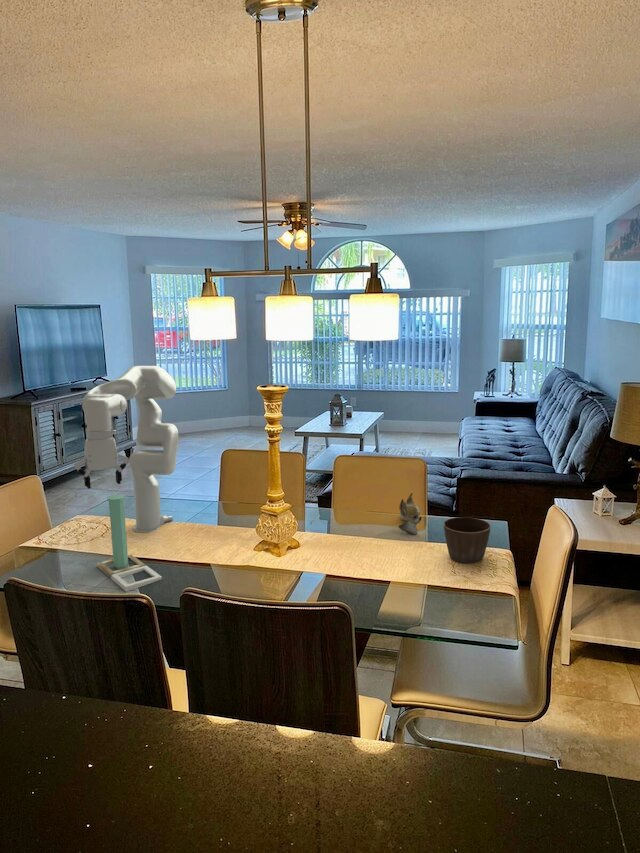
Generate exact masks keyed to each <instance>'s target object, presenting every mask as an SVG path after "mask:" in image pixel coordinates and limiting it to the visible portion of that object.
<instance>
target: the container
mask: <svg viewBox="0 0 640 853" xmlns="http://www.w3.org/2000/svg"><path fill="white" fill-rule="evenodd" d="M125 496H126V495H125V494H120V493H119V494H113V495H112V494H111V495H109V496H107V502H108V506H109V521H110V534H111V544H112V545H111V548H112V559H113V562H114V563H113V566H114V568H115V569H117V570H120V569H124V568H127V567H128V565H129V558H128V555H129V554H128V542H127V541H128V540H127V530H126V529H127V527H126V515H125V514H126V513H125V512H126V511H125V502H124V501H125V500H126V497H125Z"/></svg>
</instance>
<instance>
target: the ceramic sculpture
mask: <svg viewBox="0 0 640 853" xmlns="http://www.w3.org/2000/svg"><path fill="white" fill-rule="evenodd" d="M398 509H399V513H400V514H399V515H400V519H401V520H402V521H404V523H401V524H399V526H398V528H399V529H400V530H402V531H404V532H406V533H407V534H410V535H415V536H417V535H418V526H417V525H418V524H420V522H421V521H422V516H420V513H421V512H420V508H419V507H418V506H417V505H416V504H415V503H414V500H413V492H410V494H409V495H408V497H407V499H406V502H405V501H404V499H403V498H402V499H401V501H400V503H399V507H398Z"/></svg>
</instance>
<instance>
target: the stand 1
mask: <svg viewBox="0 0 640 853" xmlns="http://www.w3.org/2000/svg"><path fill="white" fill-rule="evenodd" d="M129 558H130V559H129ZM128 559H129V560H131V562H134V564H136V565H131V566H127V567H125V568H122V569H117V570H112V569H111V568H109V567H108V565H112V564H114V562H113V558H111V559H108V560H104V561H100V562H97V563H96V566H97V568H99V569H100V570H101V571H102V572H103V573H104V574H106V576H107V577H108V578H110V579H112V578H111V575H113V574H117V573H120V572H124V571H128V570H131V569H135V568H139V567H142V566H146V564H145V563H143V562H142V561H141V560H140V559H138V558H137V557H135V556H134V555H133V554H128Z"/></svg>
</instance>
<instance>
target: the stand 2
mask: <svg viewBox="0 0 640 853" xmlns="http://www.w3.org/2000/svg"><path fill="white" fill-rule="evenodd" d="M143 571H144V572H146V573H147V574H149V576H151V577H148V578H145V579H141V580H138V581H135V582H131V583H128V582H127V581H125V580H124V579H123V578H126V577H128V576H132V575H134V574H136V573H139V572H140V573H141V572H143ZM110 579H111V580H112V581H113V582H114V583H115V584H116V585H118V586H119V587H120V588H121V589H122V590H123V591H125V592H129V591H132V590H135V589H139V588H140V587H144V586H147V585H149V584H152V583H156V582H158V581H160V580H161V581H162V579H163V578H162V576H161V575H160V574H159V573H157V571H155V570H153V569H152V568H150V566H148V565H145V566H142V567H139V568H135V569H131V570H128V571H124V572H120V573H117V574H113V575H111V578H110Z"/></svg>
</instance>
